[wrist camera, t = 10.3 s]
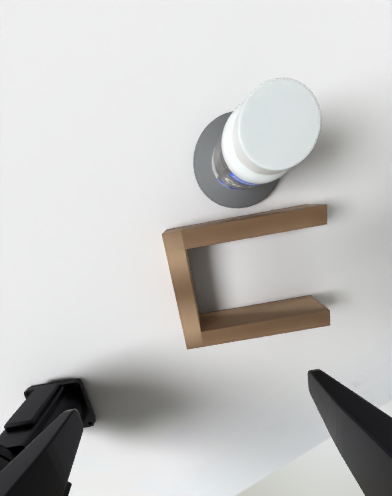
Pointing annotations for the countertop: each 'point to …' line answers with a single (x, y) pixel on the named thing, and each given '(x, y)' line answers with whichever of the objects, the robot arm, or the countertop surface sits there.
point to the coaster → (208, 179)
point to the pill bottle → (267, 134)
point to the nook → (249, 317)
